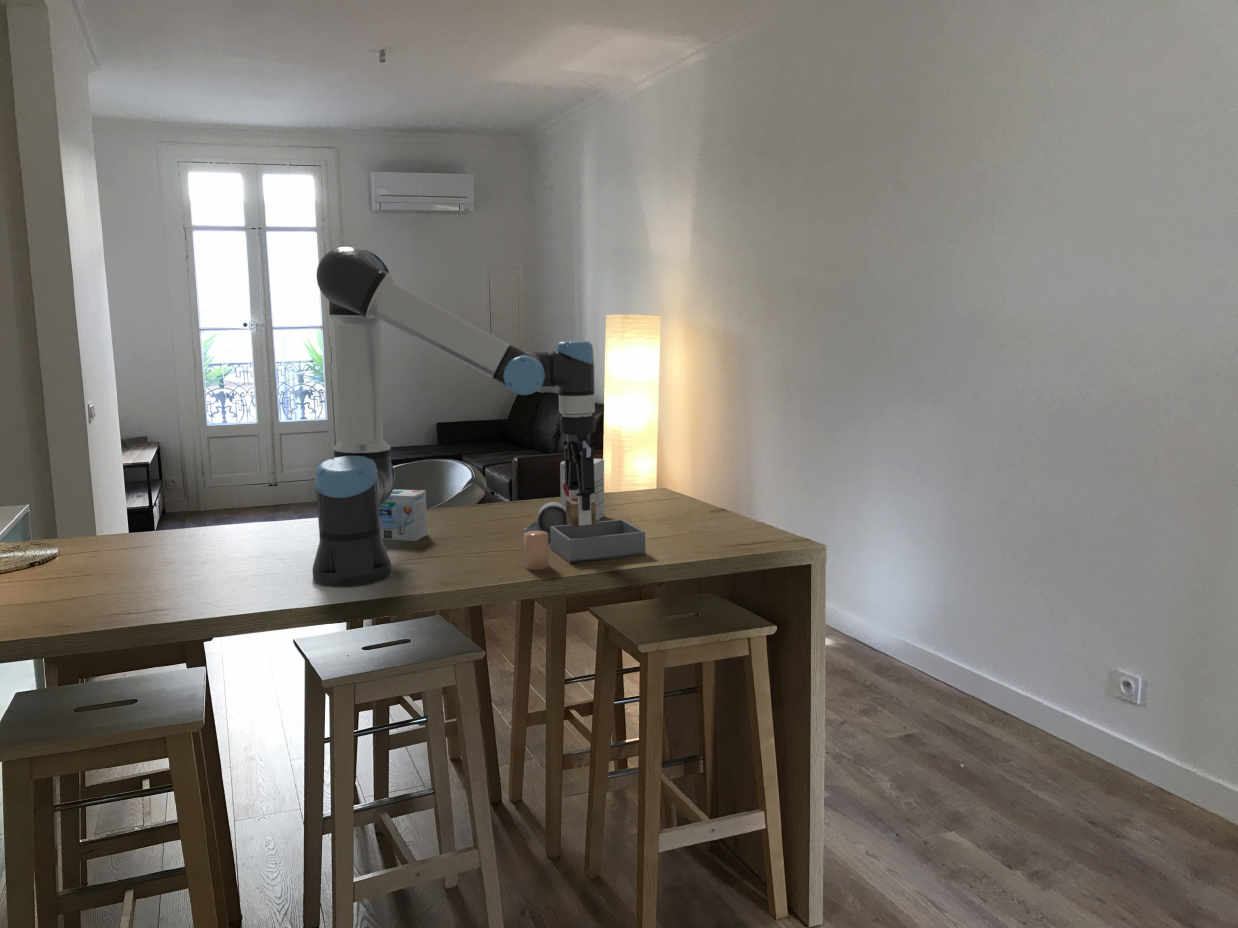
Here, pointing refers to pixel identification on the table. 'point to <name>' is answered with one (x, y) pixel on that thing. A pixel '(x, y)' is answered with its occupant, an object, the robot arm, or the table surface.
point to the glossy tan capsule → (536, 550)
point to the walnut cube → (573, 512)
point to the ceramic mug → (548, 518)
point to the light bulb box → (404, 515)
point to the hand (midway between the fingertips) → (580, 521)
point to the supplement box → (599, 487)
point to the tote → (597, 541)
